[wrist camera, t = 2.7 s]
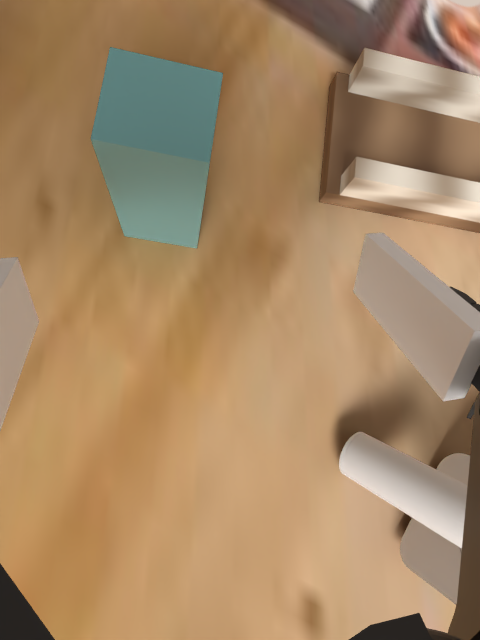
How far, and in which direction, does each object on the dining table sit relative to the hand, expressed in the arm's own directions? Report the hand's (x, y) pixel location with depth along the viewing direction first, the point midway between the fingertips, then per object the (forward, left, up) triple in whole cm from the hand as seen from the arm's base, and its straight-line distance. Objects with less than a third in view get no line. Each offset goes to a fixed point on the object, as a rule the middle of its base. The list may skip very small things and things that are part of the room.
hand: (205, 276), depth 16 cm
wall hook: (+16, -9, -12) cm, 22 cm away
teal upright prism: (-3, +8, -12) cm, 14 cm away
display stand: (+15, +16, -12) cm, 25 cm away
